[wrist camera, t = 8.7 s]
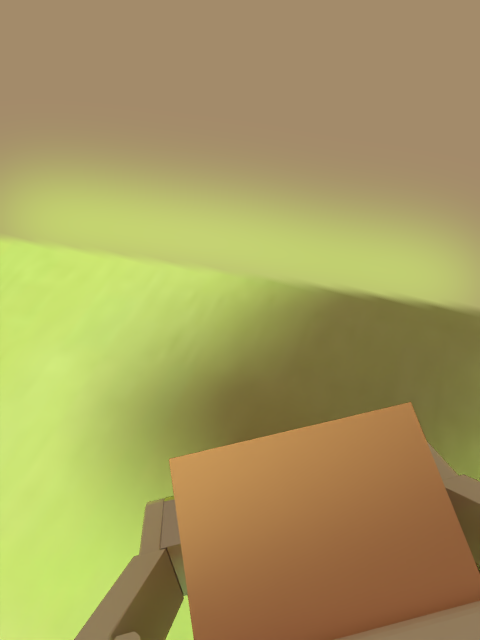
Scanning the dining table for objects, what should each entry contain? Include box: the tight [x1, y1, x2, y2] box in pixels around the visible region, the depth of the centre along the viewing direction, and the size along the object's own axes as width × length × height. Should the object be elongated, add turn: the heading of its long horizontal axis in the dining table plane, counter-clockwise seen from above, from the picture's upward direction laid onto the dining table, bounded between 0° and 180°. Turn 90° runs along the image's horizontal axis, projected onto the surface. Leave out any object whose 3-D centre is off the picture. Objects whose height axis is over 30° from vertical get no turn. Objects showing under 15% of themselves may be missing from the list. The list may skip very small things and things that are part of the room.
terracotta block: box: [169, 402, 480, 640], centre depth 11 cm, size 5×3×9 cm
